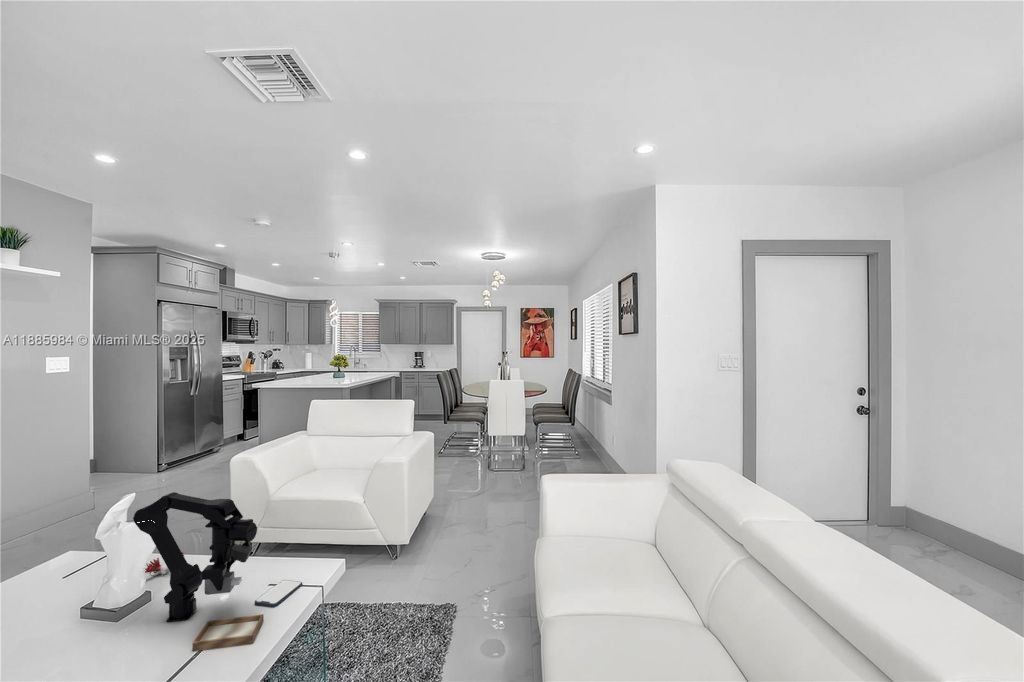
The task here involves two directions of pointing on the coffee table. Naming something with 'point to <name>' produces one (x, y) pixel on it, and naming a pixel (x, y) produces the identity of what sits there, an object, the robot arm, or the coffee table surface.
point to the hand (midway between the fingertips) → (221, 587)
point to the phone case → (278, 593)
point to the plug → (227, 584)
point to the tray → (228, 632)
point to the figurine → (157, 567)
